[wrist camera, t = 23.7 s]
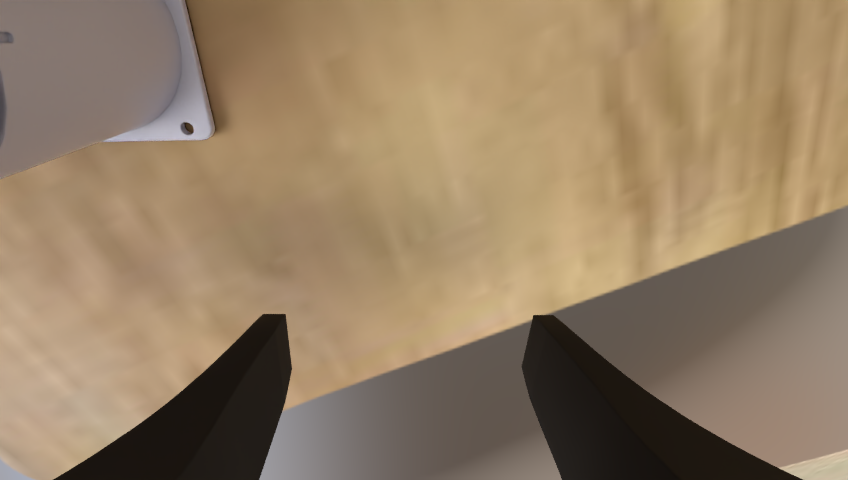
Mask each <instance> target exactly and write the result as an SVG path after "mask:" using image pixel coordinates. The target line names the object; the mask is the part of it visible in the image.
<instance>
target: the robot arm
mask: <svg viewBox="0 0 848 480" xmlns="http://www.w3.org/2000/svg"><path fill="white" fill-rule="evenodd" d="M186 122H187V123H190V124H191V125H192V126H193V128H194V132H193V133H190V132H188V131H187V130H186V128H185V123H186ZM214 132H215V126H214V121H213V117H212V113H211V109H210V104H209V100H208V96H207V92H206V87H205V83H204V79H203V75H202V70H201V66H200V62H199V58H198V53H197V49H196V45H195V41H194V37H193V32H192V28H191V24H190V20H189V15H188V11H187V7H186V3H185V0H0V179H2V178H5V177H7V176H10V175H13V174H16V173H18V172H21V171H24V170H26V169H29V168H32V167H34V166H37V165H40V164H42V163H45V162H48V161H50V160H53V159H56V158H58V157H61V156H64V155H67V154H69V153H72V152H75V151H77V150H80V149H83V148H85V147H88V146H91V145H93V144H96V143H99V142H126V141H179V140H205V139H208V138H210V137H211V136H212V135H213V134H214ZM291 370H292V366H291V357H290V348H289V340H288V331H287V323H286V314H263V315H262V316H261V317H260V318H258V319H257V320H256V321H255V322H254V323H253V324H252V325H251V326H250V328H249V329H248V330H247V331H246V332H245V333H244V334H243V335H242V336H241V337H240V338H239V339H238V340H237V341H236V342H235V343H234V344H233V345H232V346H231V347H230V348H229V349H228V350H227V351H225V352H224V353H223V354H222V355H221V356H220V357H219V358H218V359H217V360H216V361H215V362H214V363H213V364H212V365H211V366H210V367H209V368H208V369H206V370H205V371H204V372H203V373H202V374H201V375H200V376H199V377H197V378H196V379H195V380H194V381H193V382H192V383H191V384H189V385H188V386H187V387H186V388H185V389H184V390H183V391H181V392H180V393H179V394H178V395H177V396H175V397H174V398H173V399H172V400H170V401H169V402H168V403H167V404H166V405H164V406H163V407H162V408H160V409H159V410H158V411H156V412H155V413H154V414H152V415H151V416H150V417H148V418H147V419H146V420H144V421H143V422H142V423H140V424H139V425H137V426H136V427H135V428H133V429H132V430H130V431H129V432H127V433H126V434H124V435H123V436H121V437H120V438H118V439H117V440H115V441H114V442H112V443H111V444H109V445H108V446H106V447H105V448H103V449H102V450H100V451H99V452H97V453H96V454H94V455H93V456H91V457H90V458H88V459H87V460H85V461H83V462H82V463H80V464H78V465H77V466H75V467H74V468H72V469H70V470H69V471H67V472H65V473H64V474H62V475H60V476H59V477H57V478H55V479H54V480H259V478H260V475H261V472H262V469H263V466H264V463H265V460H266V457H267V455H268V452H269V449H270V445H271V442H272V440H273V437H274V433H275V431H276V428H277V425H278V421H279V418H280V416H281V413H282V410H283V407H284V404H285V400H286V395H287V390H288V386H289V381H290V376H291ZM522 370H523V374H524V378H525V382H526V386H527V389H528V393H529V397H530V400H531V403H532V405H533V408H534V410H535V413H536V416H537V418H538V421H539V423H540V426H541V428H542V431H543V433H544V435H545V438H546V440H547V443H548V445H549V448H550V450H551V453H552V455H553V458H554V460H555V463H556V465H557V468H558V470H559V472H560V475H561V478H562V480H803V479H800V478H798V477H796V476H794V475H791V474H789V473H787V472H785V471H783V470H781V469H779V468H777V467H775V466H773V465H771V464H769V463H767V462H765V461H763V460H761V459H759V458H757V457H755V456H753V455H751V454H749V453H747V452H746V451H744V450H742V449H740V448H738V447H736V446H734V445H732V444H731V443H729V442H727V441H725V440H723V439H722V438H720V437H718V436H716V435H715V434H713V433H711V432H710V431H708V430H706V429H704V428H703V427H701V426H699V425H698V424H696V423H694V422H693V421H691V420H689V419H688V418H686V417H685V416H683V415H681V414H680V413H678V412H677V411H675V410H674V409H672V408H671V407H669V406H668V405H666V404H665V403H663V402H662V401H660V400H659V399H657V398H656V397H654V396H653V395H651V394H650V393H649V392H647V391H646V390H644V389H643V388H642V387H640V386H639V385H638V384H636V383H635V382H634V381H632V380H631V379H630V378H628V377H627V376H626V375H624V374H623V373H622V372H621V371H619V370H618V369H617V368H616V367H614V366H613V365H612V364H611V363H609V362H608V361H607V360H606V359H604V358H603V357H602V356H601V355H600V354H598V353H597V352H596V351H595V350H594V349H593V348H591V347H590V346H589V345H588V344H587V343H586V342H584V341H583V340H582V339H581V338H580V337H579V336H577V335H576V334H575V333H574V332H573V331H571V330H570V329H569V328H568V327H567V326H566V325H565V324H563V323H562V322H561V321H560V320H558V319H557V318H556V317H555V316H553V315H533V320H532V324H531V328H530V333H529V337H528V342H527V346H526V350H525V355H524V360H523V364H522Z"/></svg>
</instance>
